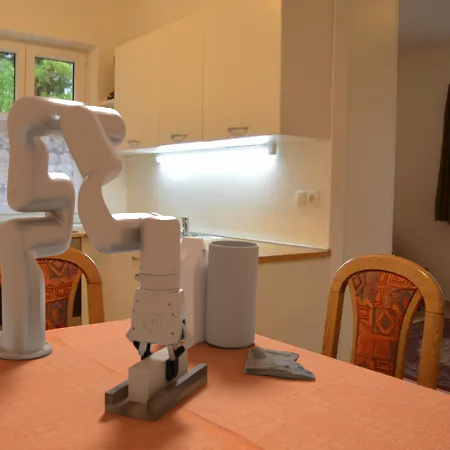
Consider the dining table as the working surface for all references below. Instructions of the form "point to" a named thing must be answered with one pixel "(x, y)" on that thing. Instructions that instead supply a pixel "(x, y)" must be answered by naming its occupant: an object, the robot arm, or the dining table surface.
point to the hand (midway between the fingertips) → (159, 375)
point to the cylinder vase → (231, 293)
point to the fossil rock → (275, 364)
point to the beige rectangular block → (152, 375)
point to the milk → (194, 284)
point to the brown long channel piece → (155, 396)
